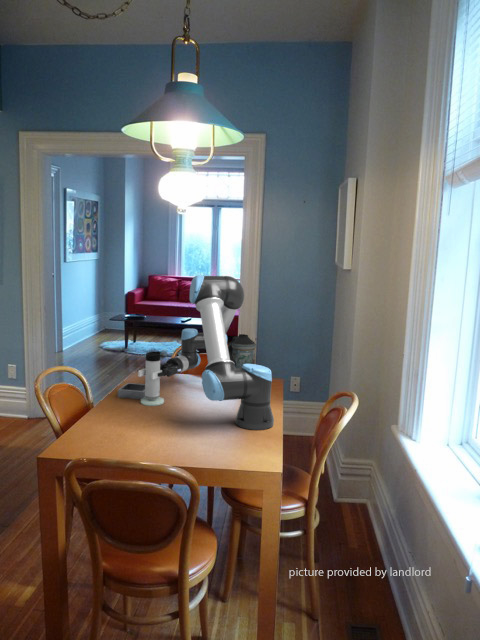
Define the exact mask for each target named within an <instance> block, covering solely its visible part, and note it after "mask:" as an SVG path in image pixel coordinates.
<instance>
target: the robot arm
mask: <svg viewBox="0 0 480 640" xmlns="http://www.w3.org/2000/svg"><path fill="white" fill-rule="evenodd" d="M244 301H245V291H244V287H243V285H242V284H241V282H240V281H239V280H238V279H236V278H234V277H233V276H230V275H205V274H203V275H195V276H194V277H193V278H192V280H191V282H190V287H189V302H190V304H194V305H195V309H196V310H197V311H198V312H200V319H201V320H200V321H201V325H202V331H203V332H198V329H197V328H184V329H182V331H181V338H180V340H181V341H180V342H181V343H180V344H181V345H180V347H181V349H180V350H181V351H180V355H178V356H174V357H171V358H168V360H167V361H166V362H164V363H160V370H159V371H156V372H153V373H151V379H152V380H153V379H156V378H159V377H160V378H161V377H166V378H168V377H172V376H175V375H177V374H181V373H183V372H185V371H188V370H192V369H194V368H196V367H198V366H199V365H200V364H201V356H200V355H199V353H198V349H205V350H206V352H205V353H206V358H207V365H206V366H205V368H204V369H205V370H203V372H202V374H201V380H202V381H201V384H202V385H201V386H202V389H203V393H204V395H205V396H206V398H207V399H208V400H209V401H213V402H214V401H215V402H217V401H219V402H222V401H232V400H233V401H235V400H240V403H239V406H238V410H237V412H236V415H235V425H236V426H239V427H240V428H242V429H247V430H253V431H255V430H256V431H258V430H260V431H261V430H268V429H270V428H272V427H274V425H275V424H274V423H275V422H274V421H275V419H274V415H273V411H272V406H271V399H272V398H271V397H272V382H273V377H272V376H273V375H272V374H273V373H272V370H271V369H270V368H269V367H267V366H264V365H259V364H243V366H242V369H236V368H235V363H234V362H233V361H231V360H230V357H229V351H228V335H227V333H228V330H229V329H230V325H231V323H232V322H233V320H234V318H235V315H236V313H237V310H240V309H241V308H242V306H243V304H244ZM145 369H146V365H145V366H143V368H142V369H140V370H138V371H137V372H138V373H137V375H138V376H137V377H139V378H141V377H145Z"/></svg>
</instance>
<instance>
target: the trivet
mask: <svg viewBox="0 0 480 640" xmlns="http://www.w3.org/2000/svg"><path fill="white" fill-rule="evenodd" d="M140 404H141V405H144V406H146V407H157V406H162V405H164V404H165V398H163V397H161V396H160V397H159V398H158V399H147V398H145V397H144V398H142V399H140Z"/></svg>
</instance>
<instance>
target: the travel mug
mask: <svg viewBox="0 0 480 640" xmlns="http://www.w3.org/2000/svg"><path fill="white" fill-rule="evenodd" d="M160 364H161V351H159V350H157V351H149V352H146V353H145V366H146V369H145V375H144V381H145V382H144V384H145V398H147V399H158V398H159V397H161V395H160V393H161V392H160V391H161V389H160V388H161V386H160V385H161V377H159V378H156V379H153V380H152V379H151V373H153V372H156V371H159V370H160Z"/></svg>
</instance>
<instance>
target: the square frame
mask: <svg viewBox="0 0 480 640" xmlns="http://www.w3.org/2000/svg"><path fill="white" fill-rule="evenodd" d="M144 397H145V383H133V382H127V383H126V384H124V385H122V386H121V387H119V388H118V389H117V398H120V399H121V398H122V399H133V400H141V399H142V398H144Z"/></svg>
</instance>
